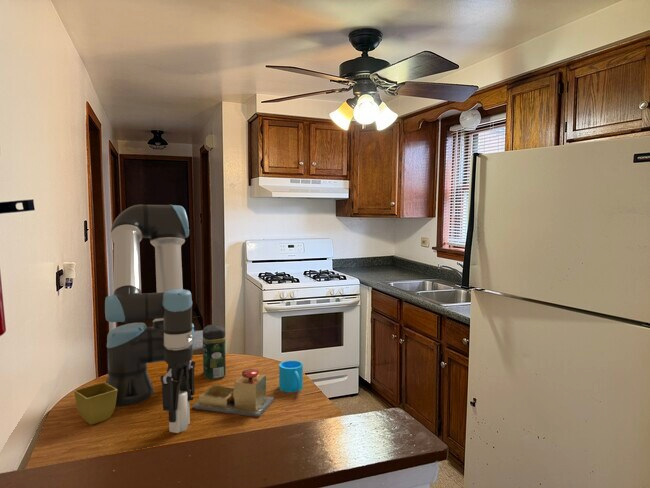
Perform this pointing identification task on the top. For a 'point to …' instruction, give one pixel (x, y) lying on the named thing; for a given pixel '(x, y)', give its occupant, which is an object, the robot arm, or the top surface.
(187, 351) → the robot arm
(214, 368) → the coffee jar
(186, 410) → the white rounded cylinder
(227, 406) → the red push button box
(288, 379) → the mug
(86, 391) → the flower pot
